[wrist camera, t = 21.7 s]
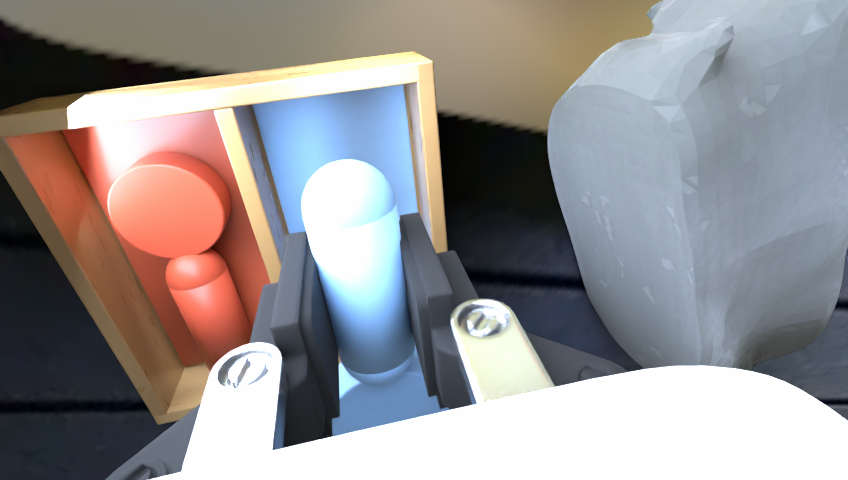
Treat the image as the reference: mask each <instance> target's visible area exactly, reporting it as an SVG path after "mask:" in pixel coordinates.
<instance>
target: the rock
mask: <svg viewBox="0 0 848 480" xmlns="http://www.w3.org/2000/svg"><path fill="white" fill-rule="evenodd" d="M647 16H648V17H649V18H650V19H651V20H652V24H653V31H652V32H651V34H650V35H649V36H646V37H640V38H635V39H630V40H625V41H620V42H619V43H617V44H616V45H614V46H613V47H611V48H610V49H608V50H607V51H605V52H604V53H603V54H601V55H600V56H599V57H598V58H597V59H596V60H595V61H594V62H593V63H592V64H591V66H590V67H589V68H588V69H587V70H586V72H585V73H584V74H583V75H582V76H581V77H579V78H578V79H577V80H576V81H575V83H573V85H572V86H571V87H570V88H569V89H568V90H567V91H566V92H565V93H564V95H563V96H562V97H561V98H560V99H559V100H558V102H557V103H556V105H555V106H554V108H553V110H552V113H551V117H550V121H549V128H548V156H549V163H550V168H551V172H552V177H553V181H554V185H555V189H556V193H557V196H558V200H559V203H560V207H561V210H562V213H563V216H564V219H565V222H566V225H567V228H568V231H569V234H570V238H571V241H572V244H573V247H574V251H575V255H576V258H577V261H578V265H579V268H580V272H581V276H582V279H583V282H584V285H585V288H586V291H587V295H588V297H589V299H590V301H591V303H592V305H593V307H594V308H595V310H596V312H597V314H598V315H599V317H600V318H601V320H602V322H603V323H604V325H605V326H606V328H607V330H608V331H609V332H610V334H611V335H612V337H613V338H614V339H615V341H616V342H617V343H618V344H619V345H620V346H621V347H622V349H623V350H624V351H625V352H626V353H627V354H628V355H629V356H630V357H631V358H632V359H634V360H635V361H636V362H637V363H638V364H639V365H640V366H642V367H643V368H644V369H651V368H661V367H670V366H714V367H725V368H735V369H741V370H746V371H752V366H753V365H755V364H757V363H760V362H762V361H765V360H767V359H770V358H774V357H779V356H783V355H786V354H789V353H792V352H794V351H797V350H800V349H802V348H804V347H806V346H807V345H809V344H810V343H811V342H813V341H814V340H815V339H817V337H818V336H819V335H820V334H821V333H822V332H823V330H824V329H825V327H826V325H827V323H828V321H829V319H830V317H831V315H832V313H833V311H834V308H835V305H836V303H837V300H838V296H839V292H840V288H841V285H842V280H843V271H844V263H845V252H846V249H847V247H848V0H663V1H661V2H659V3H657V4H655V5H654V6H652V7H651V8H650V10H649V11H648V13H647Z"/></svg>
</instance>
